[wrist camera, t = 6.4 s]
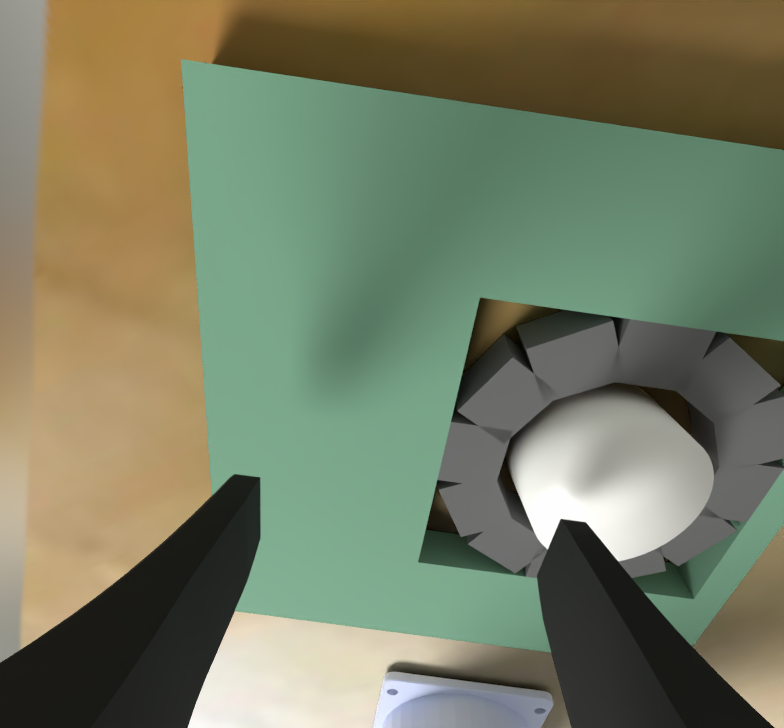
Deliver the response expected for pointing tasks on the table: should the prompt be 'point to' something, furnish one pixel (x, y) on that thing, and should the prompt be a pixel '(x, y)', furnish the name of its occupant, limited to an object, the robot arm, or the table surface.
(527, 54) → the table surface
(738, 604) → the table surface
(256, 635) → the table surface
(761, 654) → the table surface
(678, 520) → the white smooth pebble
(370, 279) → the mat
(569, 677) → the robot arm
